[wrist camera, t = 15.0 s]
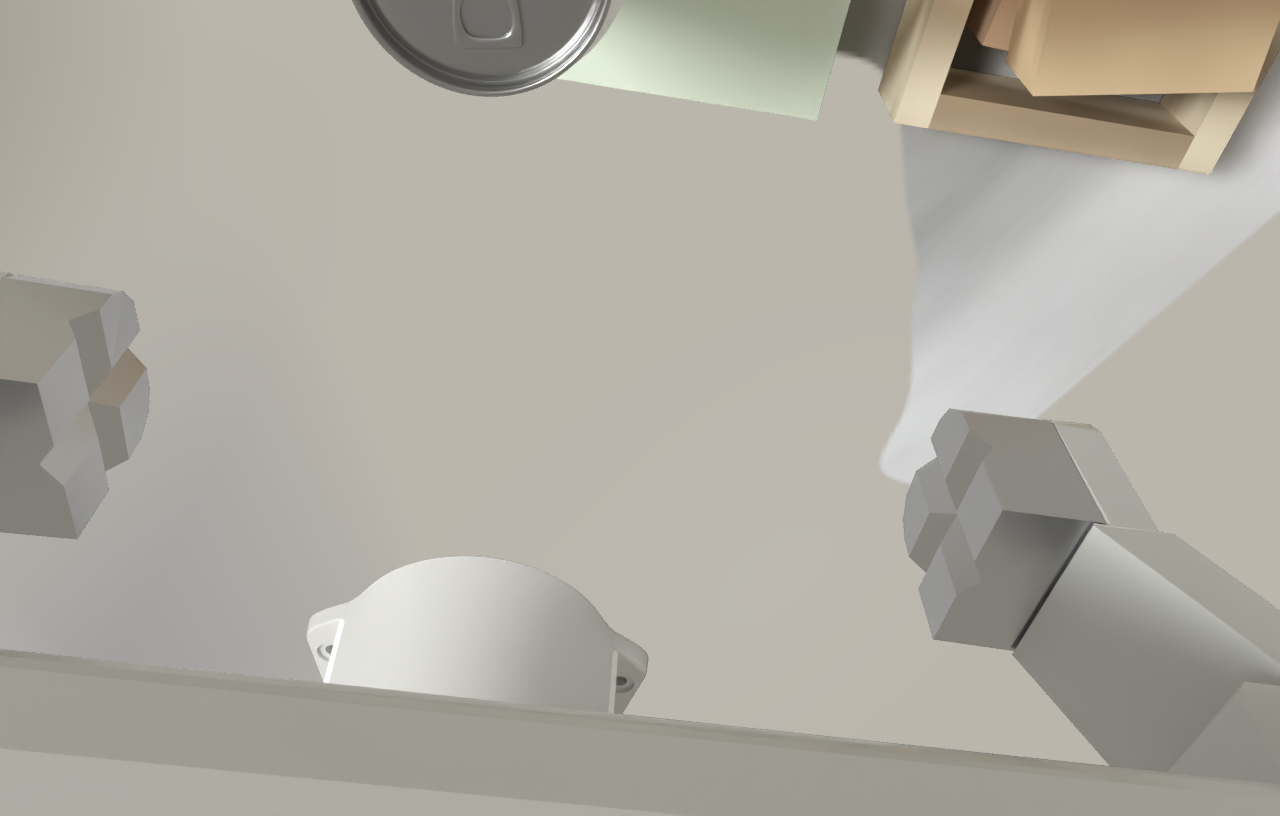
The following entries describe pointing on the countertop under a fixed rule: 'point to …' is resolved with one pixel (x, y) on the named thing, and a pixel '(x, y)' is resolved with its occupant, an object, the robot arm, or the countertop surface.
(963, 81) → the rack
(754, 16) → the board
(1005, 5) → the offcut lower
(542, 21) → the can
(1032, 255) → the countertop surface
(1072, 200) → the countertop surface
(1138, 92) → the offcut upper
